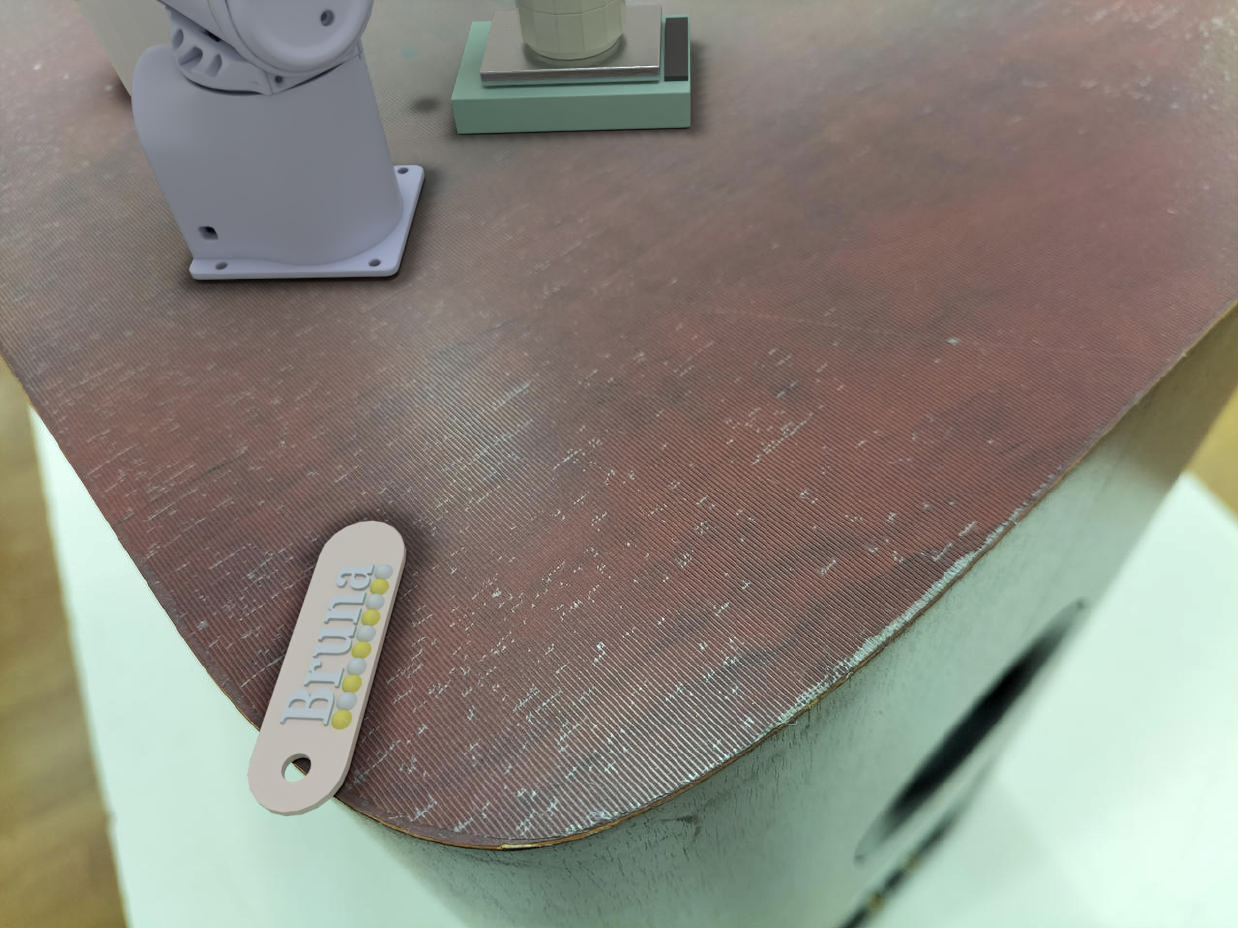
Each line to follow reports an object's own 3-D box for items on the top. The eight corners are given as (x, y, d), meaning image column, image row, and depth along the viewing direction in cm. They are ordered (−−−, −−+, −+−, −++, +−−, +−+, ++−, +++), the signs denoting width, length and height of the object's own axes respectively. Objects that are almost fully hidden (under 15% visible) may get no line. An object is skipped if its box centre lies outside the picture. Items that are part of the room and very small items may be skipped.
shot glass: (206, 115, 55) (153, -14, 49) (93, 108, 56) (29, -20, 51) (259, 51, 59) (216, -75, 54) (153, 45, 60) (101, -78, 55)
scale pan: (481, 87, 51) (478, 72, 50) (496, 24, 55) (494, 10, 54) (660, 81, 50) (659, 66, 50) (661, 19, 54) (661, 4, 54)
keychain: (328, 811, 29) (229, 805, 29) (335, 818, 29) (237, 813, 30) (410, 516, 35) (328, 515, 36) (414, 526, 36) (334, 525, 36)
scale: (457, 134, 52) (449, 93, 50) (477, 55, 57) (470, 15, 55) (690, 128, 51) (690, 86, 50) (689, 48, 56) (689, 7, 55)
